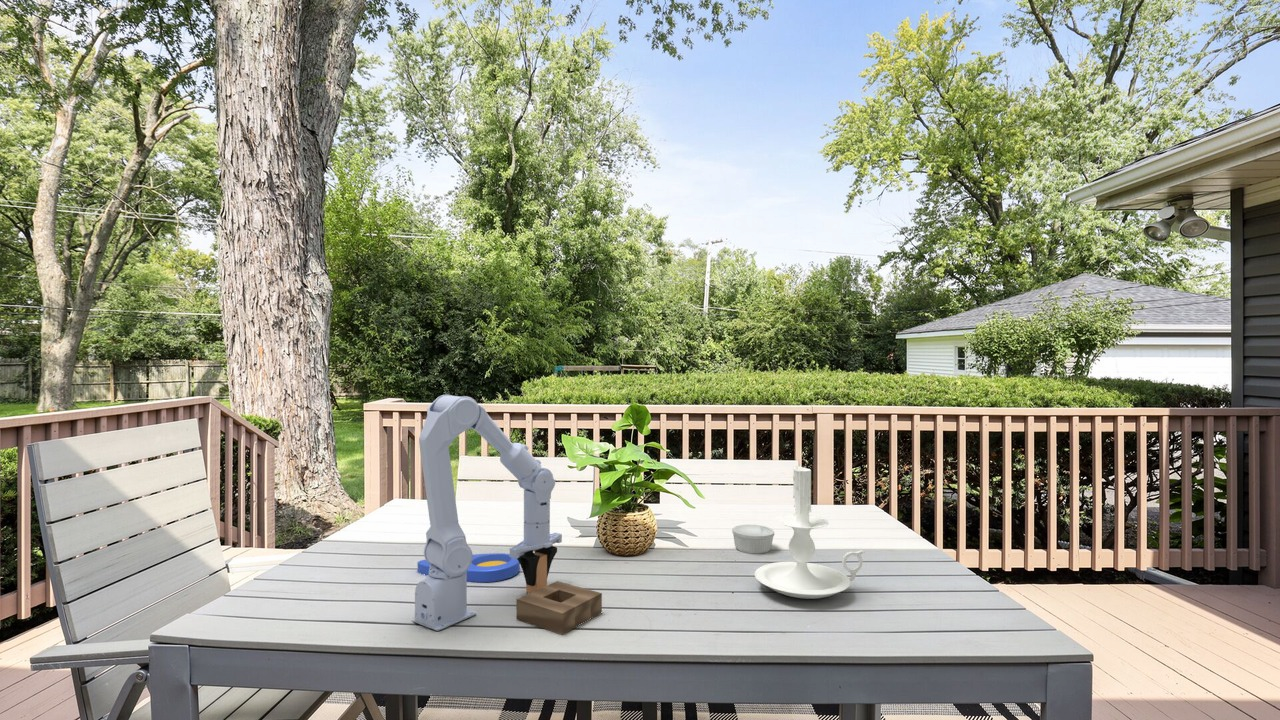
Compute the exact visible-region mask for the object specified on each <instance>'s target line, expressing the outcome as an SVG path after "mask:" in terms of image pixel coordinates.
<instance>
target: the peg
mask: <svg viewBox="0 0 1280 720" xmlns="http://www.w3.org/2000/svg"><path fill="white" fill-rule="evenodd" d="M534 553H535V552H534ZM535 555H538V556H540V559H539V562H538V565H537V571H536V583H535V585H534V586H530V585H527V584H526V583H525V591H526V593H527V592H528V593H527V594H529V593H531V592H534V591H536V590H538V589H541V588H543V587H545V586H547V585H548V577H547V555H546V554H542V553H538V552H536V553H535Z"/></svg>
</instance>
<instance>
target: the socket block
mask: <svg viewBox="0 0 1280 720" xmlns="http://www.w3.org/2000/svg"><path fill="white" fill-rule="evenodd" d="M602 593H603V592H599V591H595V590H591V589H588V588H584V587H580V586H577V585H575V584H574V585H573V584H570V583H567V582H562V581H558V580H556V581H554V582H552V583H550V584H547V586H545V587H543V588H541V589H538V590H536V591H534V592H531V593H527V594H525V595H522V596H520V597H518V598H516V600H515V601H516V602H515V603H516V607H515V609H516V613H515V614H516V615H515V617H516V619H515V620H517V621H520V622H524V623H525V624H529V625H532V626H535V627H538V628H541V629H544V630H547V631H549V632H552V633H556V634H559V635H564V634H567V633H568V632H570V631H571V630H572V631H573V629H575V628H577V627H579V626H580V625H579V624H581V623H583V622H584V623H586V622H588V621H590V620H591V619H590V618H592V617H593V618H595V617H597V616H598V614H599V615H601V614H602V613H601V612H603V598H602V596H603V594H602ZM600 613H601V614H600ZM596 615H597V616H596ZM594 616H595V617H594ZM593 618H592V619H593ZM589 619H590V620H589ZM587 620H588V621H587ZM585 621H586V622H585ZM584 623H583V624H584ZM578 625H579V626H578ZM581 625H582V624H581ZM576 626H577V627H576Z"/></svg>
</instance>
